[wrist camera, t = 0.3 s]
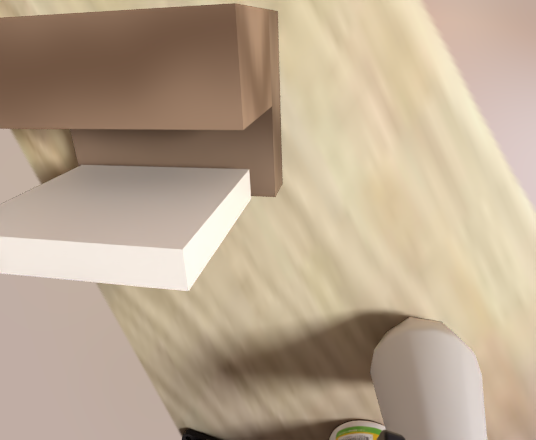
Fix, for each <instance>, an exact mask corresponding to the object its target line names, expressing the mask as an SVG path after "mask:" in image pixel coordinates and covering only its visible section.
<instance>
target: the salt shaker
mask: <svg viewBox="0 0 536 440" xmlns="http://www.w3.org/2000/svg"><path fill="white" fill-rule="evenodd" d="M370 374H371V378H372V381H373V385H374V388H375V392H376V396H377V399H378V403H379V407H380V410H381V414H382V418H383V421H384V425H385V428H386V430H389V431H392V432H396V433H399V434H401V435H402V436H403V437H404V438H405V439H406V440H487V433H486V421H485V409H484V396H483V384H482V374H481V371H480V368H479V364H478V361H477V358H476V356H475V354H474V352H473V350H472V349H471V348H470V347H469V346H468V345H467V344H465V343H464V342H463V341H462V340H461V339H460V338H459V337H458V336H457V335H456V334H455V333H454V332H453V331H451V330H450V329H449V328H448V327H447V326H446V325H445V324H443V323H442V322H439V321H432V320H426V319H420V318H414V317H409V318H407V319H406V320H404V321H403V322H401V323H400V324H398V325H397V326H395V327H394V328H392V329H391V330H389V331H387V332H386V333H385V335H384V336H383V338H382V339H381V341H380V342H379V343H378V345H377V346H376V348H375V349H374V353H373V358H372V364H371V370H370Z"/></svg>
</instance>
